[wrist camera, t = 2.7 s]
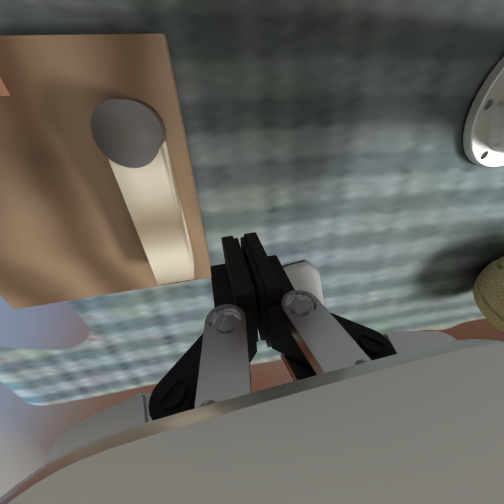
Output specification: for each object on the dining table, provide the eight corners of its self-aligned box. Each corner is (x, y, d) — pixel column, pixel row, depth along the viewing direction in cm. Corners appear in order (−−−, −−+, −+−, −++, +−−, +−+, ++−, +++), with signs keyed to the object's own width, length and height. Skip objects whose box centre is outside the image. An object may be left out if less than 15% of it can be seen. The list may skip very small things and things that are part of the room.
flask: (261, 277, 29) (285, 344, 21) (310, 251, 29) (354, 311, 21) (281, 306, 34) (307, 371, 26) (324, 284, 33) (365, 345, 25)
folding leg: (101, 100, 15) (77, 101, 12) (158, 97, 15) (148, 97, 12) (160, 263, 23) (155, 288, 20) (196, 258, 23) (196, 281, 20)
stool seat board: (167, 40, 15) (163, 33, 14) (211, 266, 27) (212, 277, 25) (-198, 46, 12) (-256, 38, 11) (26, 295, 24) (14, 309, 22)
